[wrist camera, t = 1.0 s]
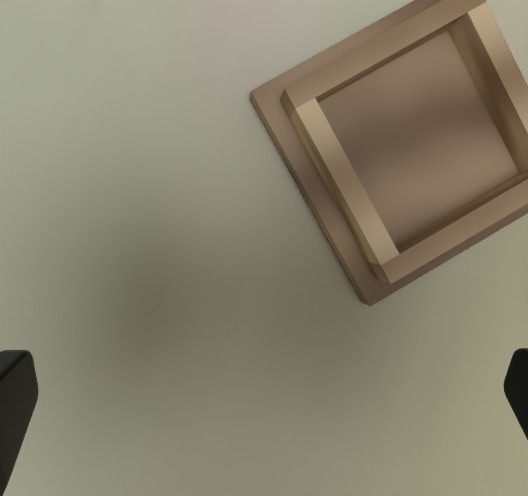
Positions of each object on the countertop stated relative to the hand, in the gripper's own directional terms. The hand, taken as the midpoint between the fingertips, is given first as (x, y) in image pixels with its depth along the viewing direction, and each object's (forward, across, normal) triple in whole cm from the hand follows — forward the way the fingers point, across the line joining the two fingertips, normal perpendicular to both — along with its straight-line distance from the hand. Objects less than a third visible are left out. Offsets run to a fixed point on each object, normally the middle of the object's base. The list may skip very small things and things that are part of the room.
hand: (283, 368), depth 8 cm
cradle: (+16, -8, -2) cm, 18 cm away
